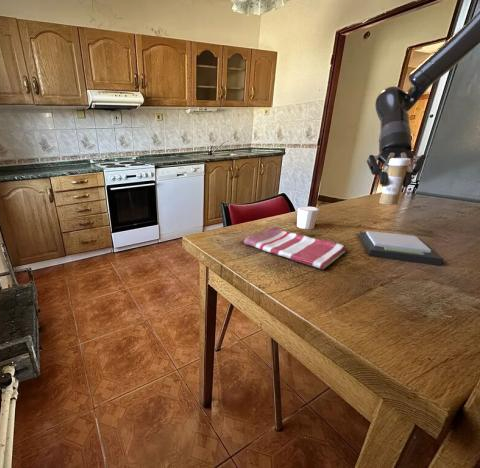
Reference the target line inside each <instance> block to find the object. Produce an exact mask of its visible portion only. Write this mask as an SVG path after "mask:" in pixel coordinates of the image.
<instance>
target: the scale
mask: <svg viewBox="0 0 480 468" xmlns="http://www.w3.org/2000/svg"><path fill="white" fill-rule="evenodd" d="M358 239H359V242H361V244H362V246H363V248H364V250H365V251H366V253H367V255H368V257H373V258H374V257H375V258H381V259H388V260H396V261H402V262H410V263H417V264H425V265H432V266H440V267H441V265H442V263H443V260H444V258H443V257H442V256H441V255H440V254H438V253H437V252H436V251H435V250H434V249H433V248H432V247H431V246H430V245H429V244H427V243H426V242H425V241H424V240H423V239H422V238H420V237H418V236H417V235H412V234H411V235H410V234H400V233H391V232H379V231H373V230H366V232H364V231H360V232H359V235H358Z"/></svg>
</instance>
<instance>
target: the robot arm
mask: <svg viewBox="0 0 480 468" xmlns="http://www.w3.org/2000/svg"><path fill="white" fill-rule="evenodd" d="M478 45H480V10H479V11H478V12H477V13H476V14H475V15H474V16H473V17H472V18H471V19H470V20H469V21H468V22H467V23H465V25H463V27H461V28H460V29H459V30H458V31H457V32H456V33H454V34H453V35H452V36H451V37H450V38H449V39H447V40H446V41H445V42H444V43H443V44H442V45H440V46H439V47H438V48H437V49H436V50H435V51H434V52H432V53H431V54H430V55H429V56H427V58H425V59H424V60H423V61H422V62H420V64H418V66H417V67H416V68H414V69H413V70H412V71H411V72H410V73H409V74H408V76H407V80H408V81H409V83H410V87H409V88H408V89H407V91H405V90H403V89H402V88H401V87H398V86H395V85H393V86H388V87H386V88H384V89H382V91H381V92H379V94H378V95H377V97H376V99H375V102H374V103H375V104H374V108H375V111H376V115H377V118H378V120H379V122H380V124H379V125H380V126H379V128H380V129H379V130H380V131H379V137H378V154H377V155H373V154H369V156H368V158H367V160H366V164H367V166H368V168H369V170H370V173H371V174H372V175H373V176H376V175H377V176H378V177H379V185H381V187H383V186H386V184H387V182H388V168H389V161H390V159H391V158H409V159H411V161H412V162H413V165H414V166H413V168H412V167H411V163H410V164H409V166H408V168H407V172H406V175H405V179H404V182H403V187H402V188H407V187H408V186H410V185H411V184H412V182H413V177H415V176H417V175H418V173H419V172H420V171H421V169H422V167H423V165H424V163H425V161H426V158H427V155H425V154H421V155H420V156H419V155H415V154H414V153H413V152H412V151H413V150H412V147H413V146H412V130H411V126H410V115H409V111H410V110H411V109H412V108H413V107H414V106H415V105H416V104H417V102H418V101H419V100H420V99H421V98H422V97H423V95H424V94H425V93H426V92H427V91H428V89H429V88H431V86H432V85H434V84H435V83H436V82H437V81H439V80H440V79H441V78H443V76H445V75H446V74H447V73H448V72H449V71H450V70H452V69H453V68H454V67H456V65H457V64H458V63H460V62H461V61H462V60H464V58H466V57H467V55H469V54H470V53H471V52H472V51H474V49H475V48H476V47H477V46H478ZM378 162H379V163H381V164H382V167H381V168H380V166H379V163H378Z"/></svg>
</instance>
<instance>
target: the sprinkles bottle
mask: <svg viewBox="0 0 480 468" xmlns="http://www.w3.org/2000/svg"><path fill="white" fill-rule="evenodd" d="M411 161H412V160H411V159H409V158H391V159H390V161H389V168H388V169H387V172H388V182H387V184H386V186H382V190H381V195H380V199H379V201H378V203H379V204H381V205H385V206H397V205H398V204H399V200H400V197H401V196H400V195H401V193H402V191H403V188H404V187H403V182H404V179H405V175H406V172H407V168H408V166H409V164H410V165H411Z"/></svg>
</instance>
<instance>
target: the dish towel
mask: <svg viewBox="0 0 480 468" xmlns="http://www.w3.org/2000/svg"><path fill="white" fill-rule="evenodd" d="M243 244H244V245H246V246H250V247H252V248H256V249H259V250H261V251H264V252H267V253H270V254H273V255H276V256H280V257H284V258H287V259H289V260H292V261H295V262H297V263H301V264H304V265H307V266H310V267H314V268H317V269H320V270H324V269H325V268H327V267H329V266H330V265H331V264H332V263H334V262H335V261H336V260H338V259H339V258H340V257H341V256H342V255H343V254H345V253H346V247H345V245H344V244H341V243H337V242H334V241H330V240H326V239H321V238H313V237H310V236H307V235H304V234H300V233H294V232H289V231H285V230H282V229H279V228H278V227H276V226H274V225H273V226H271V227H269V228H267V229H266V230H263V231H261V232H258V233H254V234H251V235H249V236H247V237H246V238H245V239H244V240H243Z"/></svg>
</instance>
